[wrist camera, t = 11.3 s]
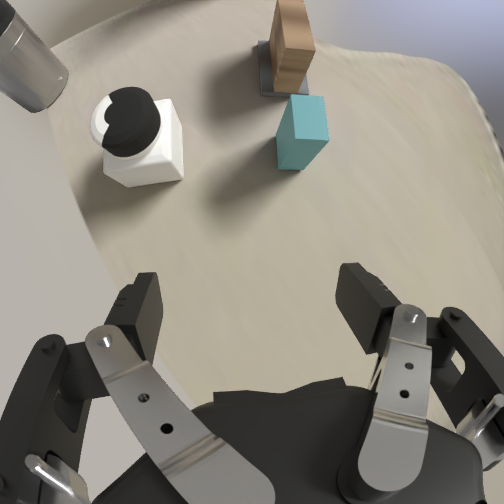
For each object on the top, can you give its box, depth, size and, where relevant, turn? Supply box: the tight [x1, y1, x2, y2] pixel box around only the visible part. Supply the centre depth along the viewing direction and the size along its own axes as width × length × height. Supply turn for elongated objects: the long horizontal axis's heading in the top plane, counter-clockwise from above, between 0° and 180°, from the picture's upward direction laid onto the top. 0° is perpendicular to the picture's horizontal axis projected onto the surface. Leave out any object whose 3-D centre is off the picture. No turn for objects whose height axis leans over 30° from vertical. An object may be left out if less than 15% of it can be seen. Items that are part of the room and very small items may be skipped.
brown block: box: [258, 0, 315, 97], centre depth 26 cm, size 10×6×10 cm, turn 2°
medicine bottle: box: [90, 87, 184, 188], centre depth 24 cm, size 7×7×12 cm
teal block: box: [276, 94, 329, 170], centre depth 26 cm, size 4×3×10 cm, turn 2°
